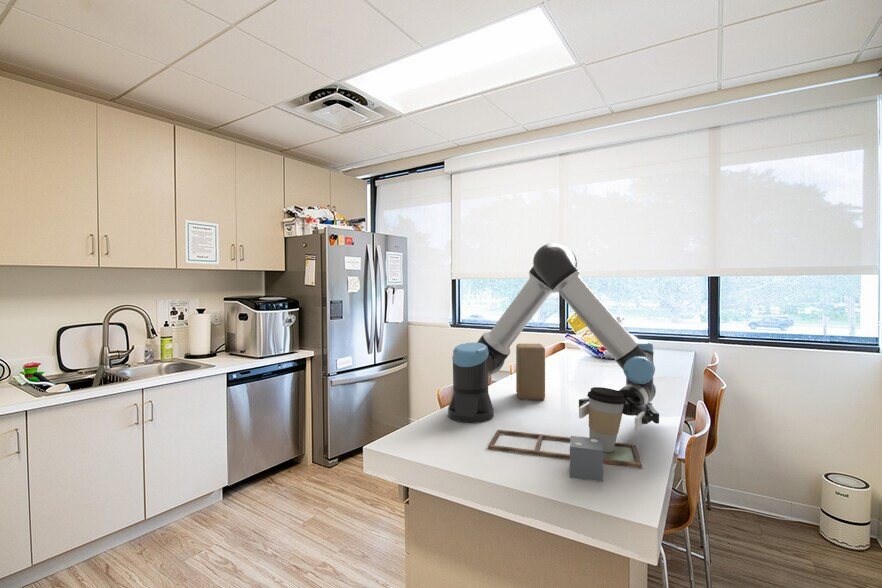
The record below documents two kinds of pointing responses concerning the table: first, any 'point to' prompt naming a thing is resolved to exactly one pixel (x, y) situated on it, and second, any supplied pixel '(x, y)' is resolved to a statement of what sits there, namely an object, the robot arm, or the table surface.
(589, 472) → the die
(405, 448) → the table surface
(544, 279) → the robot arm
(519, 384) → the wooden block
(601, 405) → the coffee cup
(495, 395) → the table surface
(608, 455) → the wooden frame
